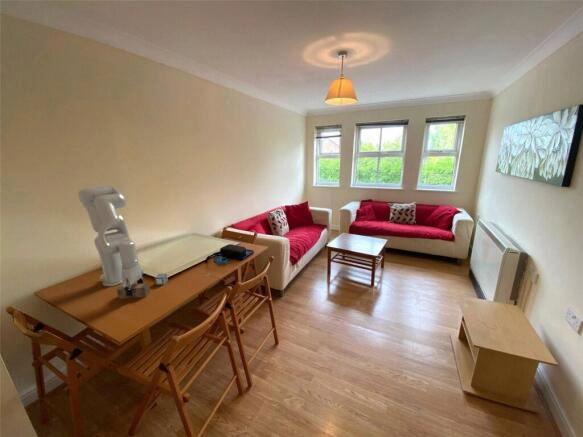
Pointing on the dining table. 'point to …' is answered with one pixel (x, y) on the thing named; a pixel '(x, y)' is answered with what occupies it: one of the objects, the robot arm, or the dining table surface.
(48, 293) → the dining table surface
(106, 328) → the dining table surface
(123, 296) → the walnut screen
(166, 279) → the marked cube
